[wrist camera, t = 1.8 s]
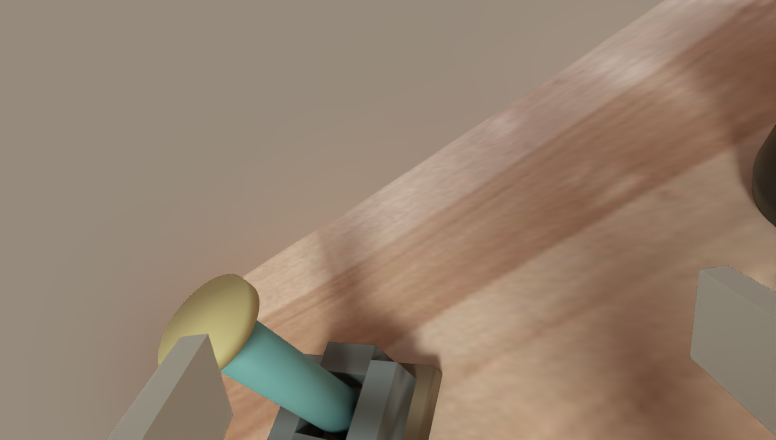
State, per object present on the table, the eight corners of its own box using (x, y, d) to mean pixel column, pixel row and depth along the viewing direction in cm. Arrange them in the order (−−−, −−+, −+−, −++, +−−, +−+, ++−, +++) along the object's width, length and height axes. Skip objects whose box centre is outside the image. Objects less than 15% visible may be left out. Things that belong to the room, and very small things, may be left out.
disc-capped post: (335, 375, 48) (198, 275, 36) (398, 382, 44) (265, 272, 31) (308, 454, 44) (139, 372, 31) (374, 471, 39) (208, 383, 27)
